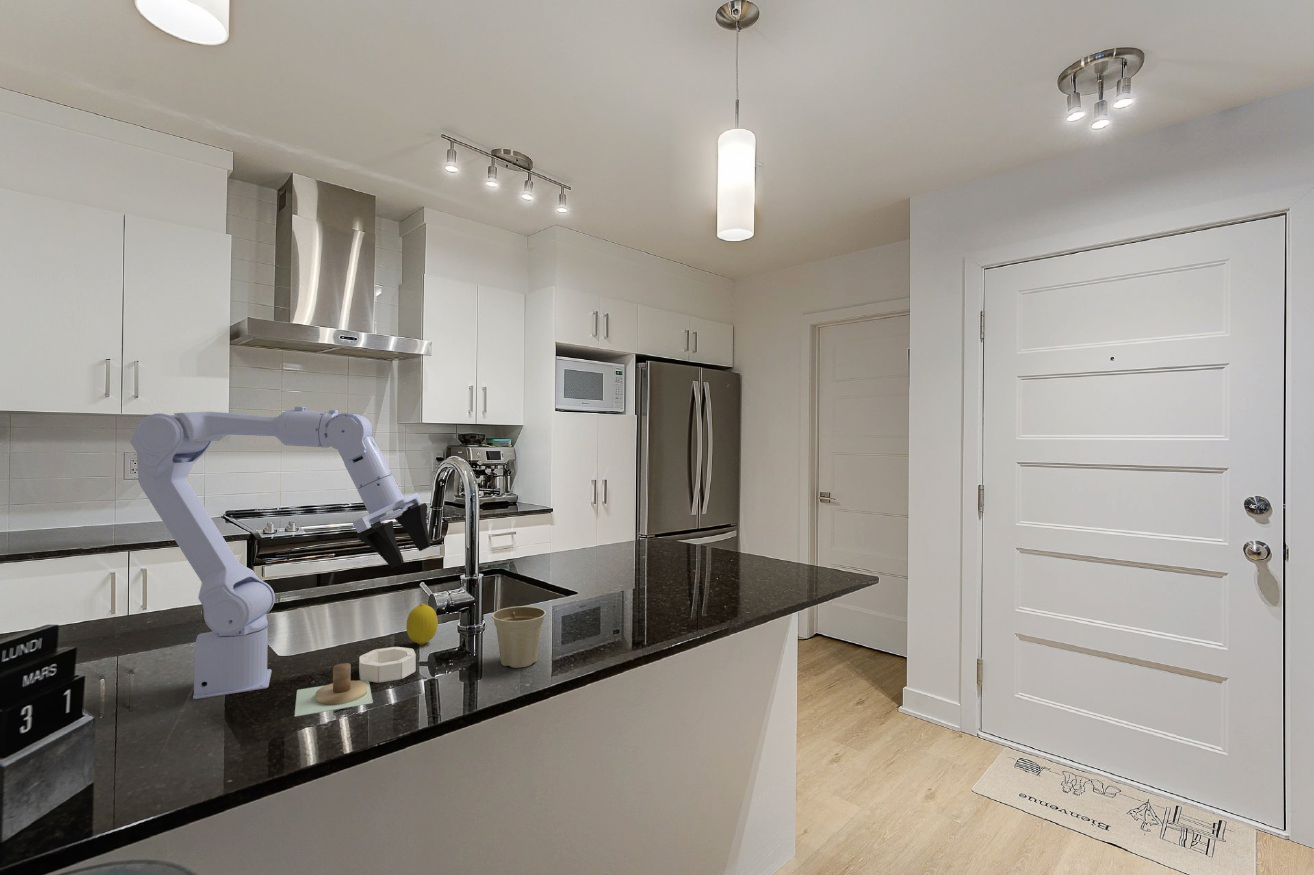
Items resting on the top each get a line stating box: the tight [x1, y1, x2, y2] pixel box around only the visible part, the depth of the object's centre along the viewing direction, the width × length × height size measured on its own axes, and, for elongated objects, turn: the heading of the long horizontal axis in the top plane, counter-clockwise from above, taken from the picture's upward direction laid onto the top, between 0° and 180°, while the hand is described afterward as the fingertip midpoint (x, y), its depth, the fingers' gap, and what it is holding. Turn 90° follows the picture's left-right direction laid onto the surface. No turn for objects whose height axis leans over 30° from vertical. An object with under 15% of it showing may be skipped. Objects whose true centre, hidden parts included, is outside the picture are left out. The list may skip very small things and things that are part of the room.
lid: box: [315, 662, 367, 705], centre depth 95 cm, size 7×7×4 cm
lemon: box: [406, 602, 439, 646], centre depth 118 cm, size 6×6×8 cm
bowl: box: [358, 646, 417, 683], centre depth 104 cm, size 8×8×3 cm
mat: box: [294, 679, 374, 718], centre depth 94 cm, size 10×10×1 cm
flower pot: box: [491, 605, 547, 669], centre depth 110 cm, size 9×9×9 cm
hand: (412, 556), depth 102 cm, fingers open, 7 cm apart
